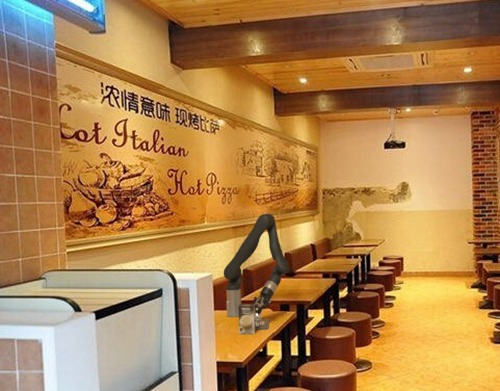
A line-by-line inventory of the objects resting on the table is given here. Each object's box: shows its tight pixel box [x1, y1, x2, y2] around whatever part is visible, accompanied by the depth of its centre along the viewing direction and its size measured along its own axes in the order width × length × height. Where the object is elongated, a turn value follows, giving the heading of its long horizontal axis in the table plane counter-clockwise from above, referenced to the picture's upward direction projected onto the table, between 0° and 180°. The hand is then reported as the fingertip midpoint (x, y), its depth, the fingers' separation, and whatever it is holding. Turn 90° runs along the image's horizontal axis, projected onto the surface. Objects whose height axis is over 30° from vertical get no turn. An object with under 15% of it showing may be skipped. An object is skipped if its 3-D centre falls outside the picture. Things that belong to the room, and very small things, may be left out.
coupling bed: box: [255, 318, 270, 331], centre depth 352 cm, size 13×24×3 cm, turn 176°
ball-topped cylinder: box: [255, 306, 262, 321], centre depth 352 cm, size 4×4×8 cm
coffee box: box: [238, 303, 256, 335], centre depth 333 cm, size 9×6×16 cm
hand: (255, 312), depth 351 cm, fingers closed on ball-topped cylinder, 4 cm apart
